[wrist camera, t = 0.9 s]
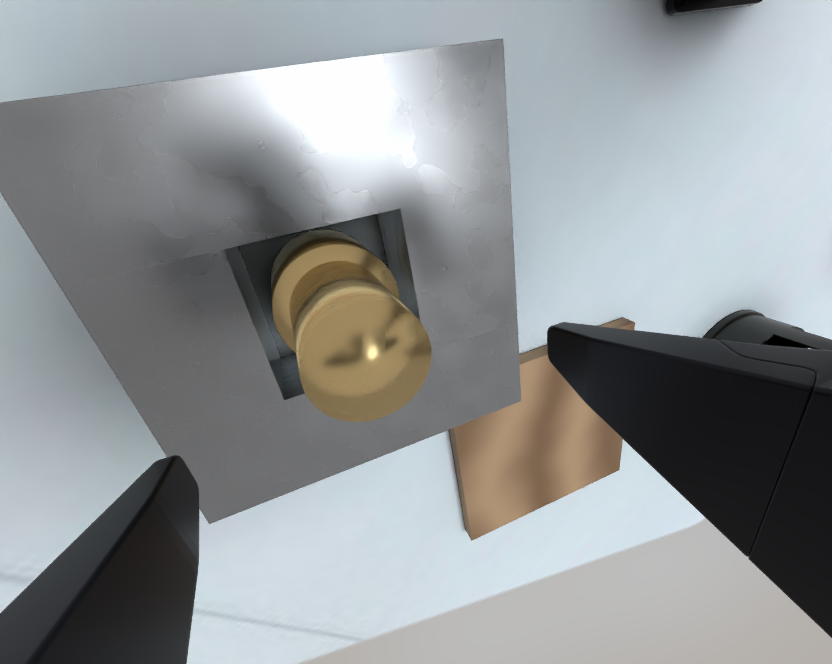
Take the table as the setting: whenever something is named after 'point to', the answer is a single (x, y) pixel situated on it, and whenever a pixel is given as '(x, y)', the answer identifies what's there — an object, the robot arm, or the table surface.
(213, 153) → the plate
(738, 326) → the french press
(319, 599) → the table surface
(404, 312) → the knob
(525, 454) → the board
